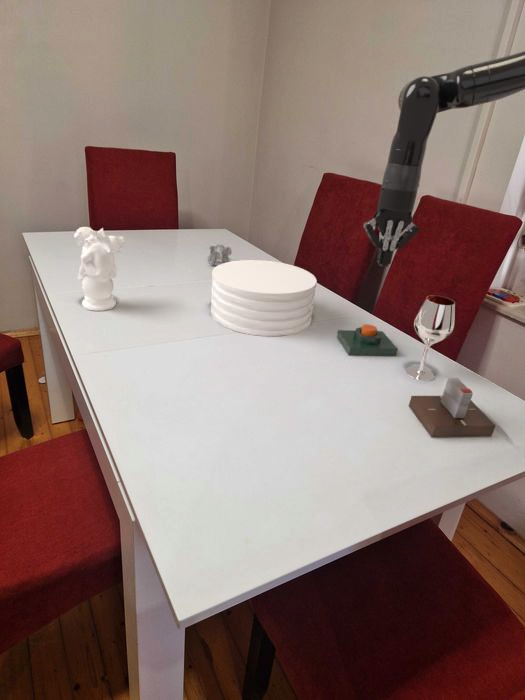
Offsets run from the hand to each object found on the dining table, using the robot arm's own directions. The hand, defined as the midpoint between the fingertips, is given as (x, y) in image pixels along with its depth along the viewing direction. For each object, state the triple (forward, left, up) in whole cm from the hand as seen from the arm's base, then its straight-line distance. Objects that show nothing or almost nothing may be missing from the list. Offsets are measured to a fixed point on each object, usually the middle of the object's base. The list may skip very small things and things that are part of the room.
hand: (382, 265), depth 104 cm
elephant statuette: (+33, -63, -21) cm, 74 cm away
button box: (0, 0, -21) cm, 21 cm away
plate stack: (+24, -19, -21) cm, 37 cm away
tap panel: (-6, +31, -21) cm, 38 cm away
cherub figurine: (+66, -23, -21) cm, 73 cm away
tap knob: (-6, +31, -18) cm, 37 cm away
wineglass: (-8, +13, -21) cm, 26 cm away
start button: (0, 0, -17) cm, 17 cm away
